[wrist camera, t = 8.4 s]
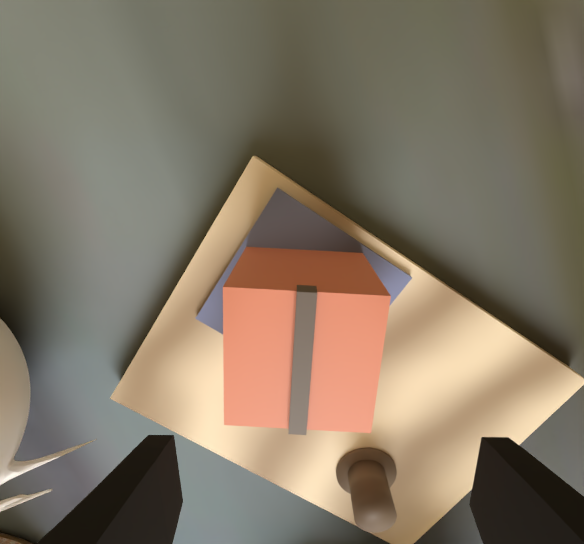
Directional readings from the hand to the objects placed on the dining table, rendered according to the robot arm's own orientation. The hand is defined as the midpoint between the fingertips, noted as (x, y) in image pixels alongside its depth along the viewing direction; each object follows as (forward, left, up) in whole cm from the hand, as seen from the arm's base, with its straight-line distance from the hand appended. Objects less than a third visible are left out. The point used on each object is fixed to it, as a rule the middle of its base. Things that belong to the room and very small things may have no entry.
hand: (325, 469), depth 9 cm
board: (-3, +3, -10) cm, 11 cm away
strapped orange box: (+1, 0, -8) cm, 8 cm away
